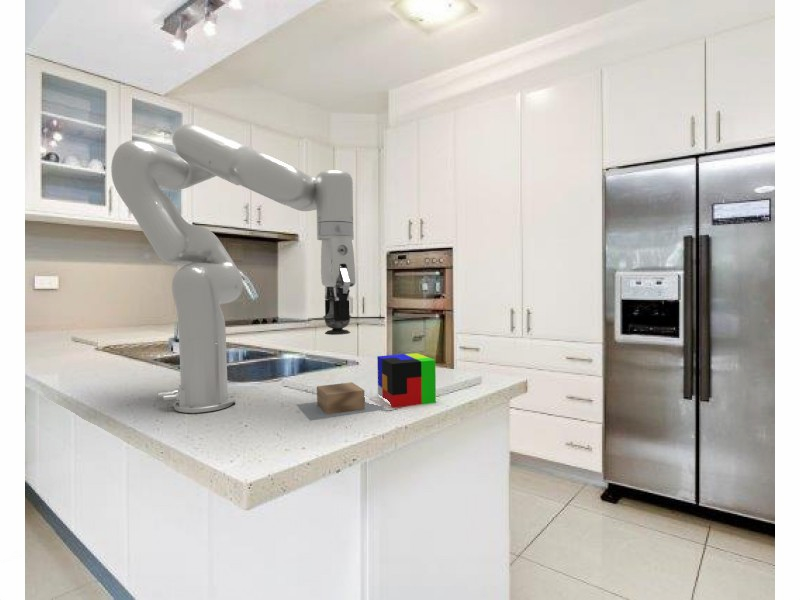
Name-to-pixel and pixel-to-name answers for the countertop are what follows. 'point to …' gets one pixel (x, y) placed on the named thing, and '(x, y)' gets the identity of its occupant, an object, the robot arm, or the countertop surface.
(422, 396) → the puzzle toy
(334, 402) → the base block
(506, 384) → the countertop surface
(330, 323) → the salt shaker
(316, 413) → the slate mat
